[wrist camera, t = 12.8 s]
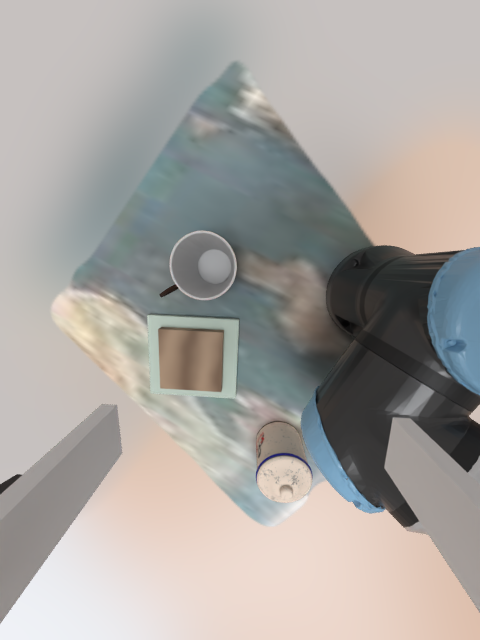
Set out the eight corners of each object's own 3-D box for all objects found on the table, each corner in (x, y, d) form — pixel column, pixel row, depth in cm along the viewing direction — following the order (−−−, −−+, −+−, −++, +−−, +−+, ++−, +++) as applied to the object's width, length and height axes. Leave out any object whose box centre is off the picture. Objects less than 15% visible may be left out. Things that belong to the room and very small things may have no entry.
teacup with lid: (252, 422, 46) (252, 473, 34) (299, 417, 45) (315, 468, 34) (259, 473, 48) (262, 536, 37) (304, 469, 47) (321, 533, 36)
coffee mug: (237, 237, 38) (233, 226, 29) (242, 290, 40) (240, 297, 30) (168, 244, 39) (140, 237, 29) (176, 296, 41) (153, 305, 31)
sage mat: (239, 318, 41) (238, 319, 40) (235, 395, 45) (235, 398, 44) (149, 314, 42) (147, 315, 41) (152, 390, 45) (150, 393, 44)
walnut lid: (223, 330, 41) (222, 332, 39) (222, 387, 43) (221, 392, 42) (161, 326, 41) (158, 329, 40) (163, 384, 44) (160, 388, 42)
